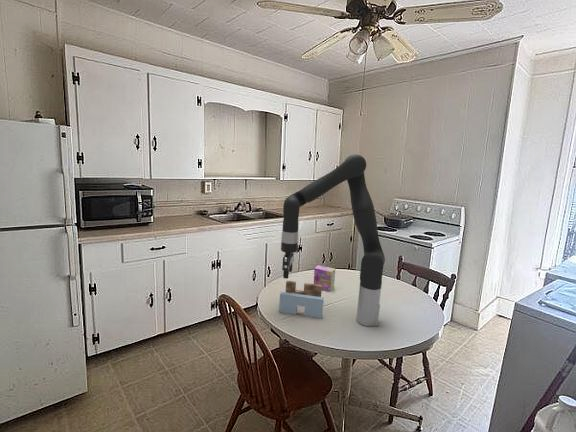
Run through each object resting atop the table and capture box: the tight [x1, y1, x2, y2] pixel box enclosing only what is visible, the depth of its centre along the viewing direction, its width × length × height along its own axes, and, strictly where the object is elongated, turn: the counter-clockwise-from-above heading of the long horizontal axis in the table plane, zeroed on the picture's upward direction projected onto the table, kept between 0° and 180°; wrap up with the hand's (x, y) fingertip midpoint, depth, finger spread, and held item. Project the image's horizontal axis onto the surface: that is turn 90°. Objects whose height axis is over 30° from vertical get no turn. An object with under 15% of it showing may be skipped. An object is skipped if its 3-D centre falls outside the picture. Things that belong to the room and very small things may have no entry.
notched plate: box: [278, 291, 325, 319], centre depth 144 cm, size 20×2×9 cm, turn 79°
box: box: [313, 264, 336, 293], centre depth 173 cm, size 10×6×12 cm, turn 62°
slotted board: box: [285, 280, 323, 297], centre depth 157 cm, size 18×2×9 cm, turn 79°
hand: (287, 274), depth 143 cm, fingers open, 8 cm apart
